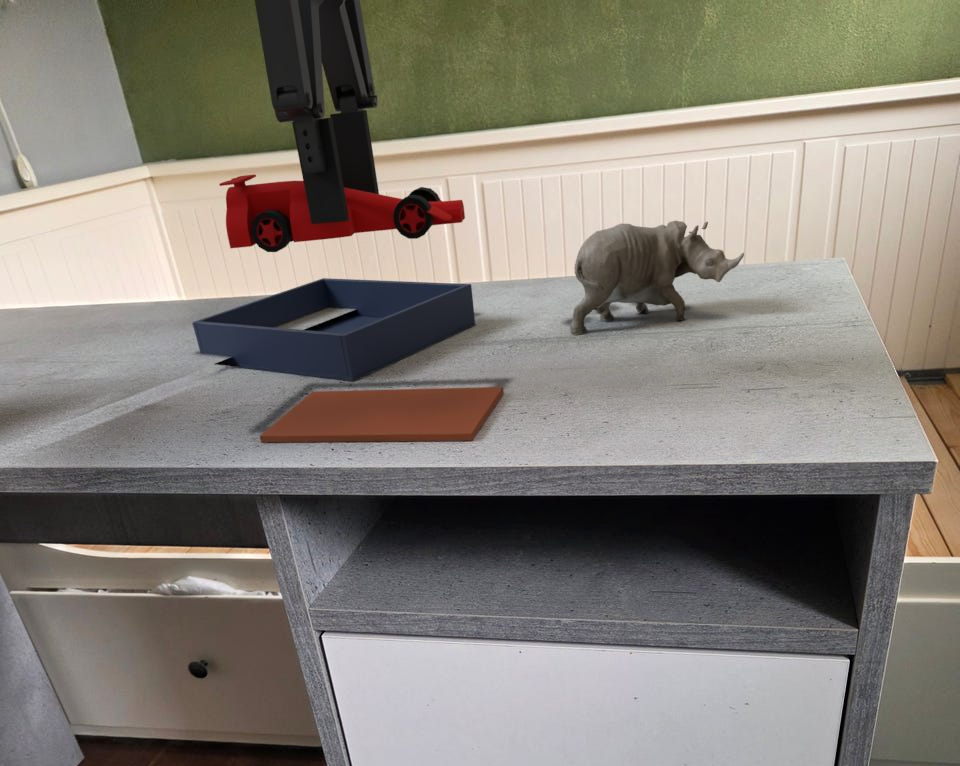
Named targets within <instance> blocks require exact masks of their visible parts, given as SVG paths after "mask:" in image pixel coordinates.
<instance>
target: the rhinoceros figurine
mask: <svg viewBox="0 0 960 766" xmlns="http://www.w3.org/2000/svg"><path fill="white" fill-rule="evenodd" d="M708 224H709V222H708V221H705V222H704V223H703V224H702V227H701V229H702V230H706V229H707V228H708ZM699 227H700V226H699V225H697V224H696V225H695V226H694V228H693V230H691V231H688V233H689V234H688V235H686V232H687V228H688V226H687V224H686V222H684V221H679V220H672V221H668V222H667V224H666V225H664V224H660V225H658V226H654V227H648V226H638V225H633V224H631V223H619V224H616V225H614V226H612V227H609V228H605V229H601V230H596V231H595V232H593V233H592V234H591V235H590V236H588V238H586V239H585V240H584V241H583V243H582V244H581V247H580V248H579V250H578V252H577V255H576V258H575V263H574V268H573V269H574V275H575V278H576V279H577V280H578V282H580V283H581V285H582V287H583V290H584V297H583V298H582V299H581V301H580V302H578V304H576V305H575V307H574V309H573V314H572V319H571V320H572V321H571V322H570V324H569V328H570V330H569V331H570V333H572V334H573V335H576V336H577V335H584V334H586V333H588V332H589V331H588V329H587V327H586V325H585V319H586V317H587V316H589V315H591V313H592V312H593V311H596V313H598V314H599V321H602V322H605V323H606V322H609V323H611V321H612V319H615V316H614V314H613V312H612V311H611V310H610V307H611V304H613V303H622V304H635V303H636V304H635V309H636V313H635V314H636V315H637V314H647V313H646V312H648V313H650V310H649V308H648V305H647V304H649V305H654V306H662V307H663V306H667V305H672V306H673V307H674V308H675V311H676V317H675V320H676V321H677V320H682V321H684V320H686V319H685V318H686V317H685V310H686V303H685V300H684V298H683V296H681V294H680V293H679V292H678V291H677V289H676V288H675V286H674V281H675V279H677V278H679V277H682V276H684V275H686V274H689V273H690V274H691V273H692V274H694V275H697V276H698V277H699V278H700V279H701V280H714V281H716V282H717V283H721V281H722V280H723V278H724V277H725V275H726V274H728V273H729V272H730V271H731V270H733V269H735V268H737V266H739V264H740V263H741V261H742V260H743V258H744V256H745V252H742V253H741V254H740V255H738V256H737V257H736V258H733V259H729V258H726V255H725V252H724V250H722V249H719V248H717V249H715V248H712V247H710V246H709V244H707V242H706V241H705V239H704V238H703V237H702V235H701V234H698V231H699ZM685 235H686V236H685ZM683 319H684V320H683Z"/></svg>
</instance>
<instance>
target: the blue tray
mask: <svg viewBox="0 0 960 766" xmlns="http://www.w3.org/2000/svg"><path fill="white" fill-rule="evenodd" d="M328 308H330V309H331V308H332V309H345V310H346V309H348V310H350V311H348V312H346V313H342V314H341V315H338V316H334V317H333V318H330V319H327V320H324V321H323V322H319V323H317V324H315V325H311V326H309V327H306V328H304V329H295V328H283V327H279V326H282V325H285V324H288V323H291V322H293V321H296V320H298V319H301V318H304V317H307V316H309V315H312V314H314V313H317V312H320V311H322V310H326V309H328ZM191 323H192V327H193V331H194V334H195V338H196V341H197V345H198V349H199V352H200V354H204V355H212V356H213V355H214V356H222V357H228V358H226V359H223V360H221V361H218V362H215V363H214V365H219V366H225V367H226V366H227V367H234V368H240V369H241V368H242V369H250V370H259V371H267V372H275V373H283V374H291V375H299V376H308V377H315V378H323V379H332V380H339V381H346V382H347V381H349V382H356V381H358V380H360V379H362V378H364V377H366V376H368V375H370V374H373V373H374V372H377V371H379V370H382V369H383V368H386V367H388V366H390V365H392V364H394V363H396V362H399V361H400V360H403V359H405V358H407V357H409V356H411V355H414V354H416V353H418V352H420V351H422V350H424V349H426V348H429V347H431V346H434V345H435V344H438V343H439V342H442V341H444V340H447V339H448V338H450V337H453V336H455V335H457V334H459V333H461V332H463V331H465V330H468V329H470V328H472V327H475V326H476V317H475V307H474V298H473V289H472V284H471V283H451V282H425V281H403V280H402V281H401V280H399V281H398V280H375V279H351V278H346V279H345V278H327V277H322V278H320V279H317V280H314V281H311V282H308V283H304V284H302V285H298V286H296V287H292V288H289V289H287V290H284V291H281V292H278V293H275V294H272V295H269V296H266V297H263V298H260V299H257V300H254V301H251V302H248V303H245V304H242V305H239V306H235V307H234V308H231V309H227V310H224V311H221V312H219V313H216V314H212V315H209V316H207V317H204V318H200V319H197V320H195V321H192V322H191Z"/></svg>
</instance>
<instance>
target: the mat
mask: <svg viewBox="0 0 960 766" xmlns="http://www.w3.org/2000/svg"><path fill="white" fill-rule="evenodd" d="M504 391H505V390H504V386H485V387H483V386H481V387H479V386H478V387H445V388H444V387H443V388H440V387H439V388H409V389H408V388H401V389H399V388H398V389H365V390H364V389H363V390H362V389H360V390H359V389H357V390H356V389H355V390H324V391H323V390H322V391H321V390H320V391H319V390H318V391H316V390H315V391H311V392H310V393H308V394H307V395H306V396H305V397H304V398H302V400H301V401H299V402H298V403H297V404H296V405H294V406H293V407H292V408H291V409H289V410H288V411H287V412H286V413H285V414H283V416H281V417H280V418H278V420H276V421H275V422H274V423H273V424H271V426H269V427H268V428H266V430H265V431H263V432H262V433H261V434H259V440H260V443H341V442H342V443H350V442H353V443H355V442H356V443H357V442H361V443H362V442H367V443H368V442H463V441H464V442H467V441H468V442H471V441H473V440H474V438H475V437H476V435H477V434H478V433H479V431H480V429H481V428H482V426H483V425H484V424H485V422H486V420H487V419H488V418H489V416H490V415H491V413H492V411H493V410H494V409H495V407H496V406H497V404H498V402H499V401H500V400H501V398H502V396H503V395H504Z"/></svg>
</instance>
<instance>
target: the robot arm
mask: <svg viewBox="0 0 960 766" xmlns="http://www.w3.org/2000/svg"><path fill="white" fill-rule="evenodd" d="M254 5H255V12H256V17H257V22H258V30H259V35H260V40H261V41H260V42H261V46H262V54H263V58H264V65H265V69H266V76H267V77H266V78H267V82H268V88H269V94H270V101H271V105H272V109H273V110H274V114H275V117H276V119H277V121H278V122H279V123H289V122H291V123H292V129H293V133H294V134H293V135H294V139H295V144H296V149H297V155H298V161H299V165H300V172H301V176H302V181H303V182H304V187H305V192H306V197H307V203H308V208H309V213H310V218H311V224H319V223H332V222H344V221H347V220H349V215H348V209H347V203H346V198H345V192H344V187H345V188H350V189H355V190H360V191H365V192H370V193H375V194H380V191H379V183H378V178H377V170H376V165H375V158H374V151H373V146H372V138H371V137H372V136H371V131H370V125H369V118H368V111H367V109H376V108H377V107H378V102H379V101H378V95H377V94H376V88H375V83H374V78H373V72H372V66H371V59H370V54H369V53H370V52H369V47H368V41H367V35H366V30H365V23H364V18H363V13H362V6H361V0H254ZM323 71H324V75H325V78H326V82H327V86H328V90H329V93H330V97H331V100H332V105H333V108H334V110H335V111H336V113H331V114H329V117H325V114H326V113H325V109H326V108H325V94H324V92H325V91H324V76H323Z"/></svg>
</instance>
